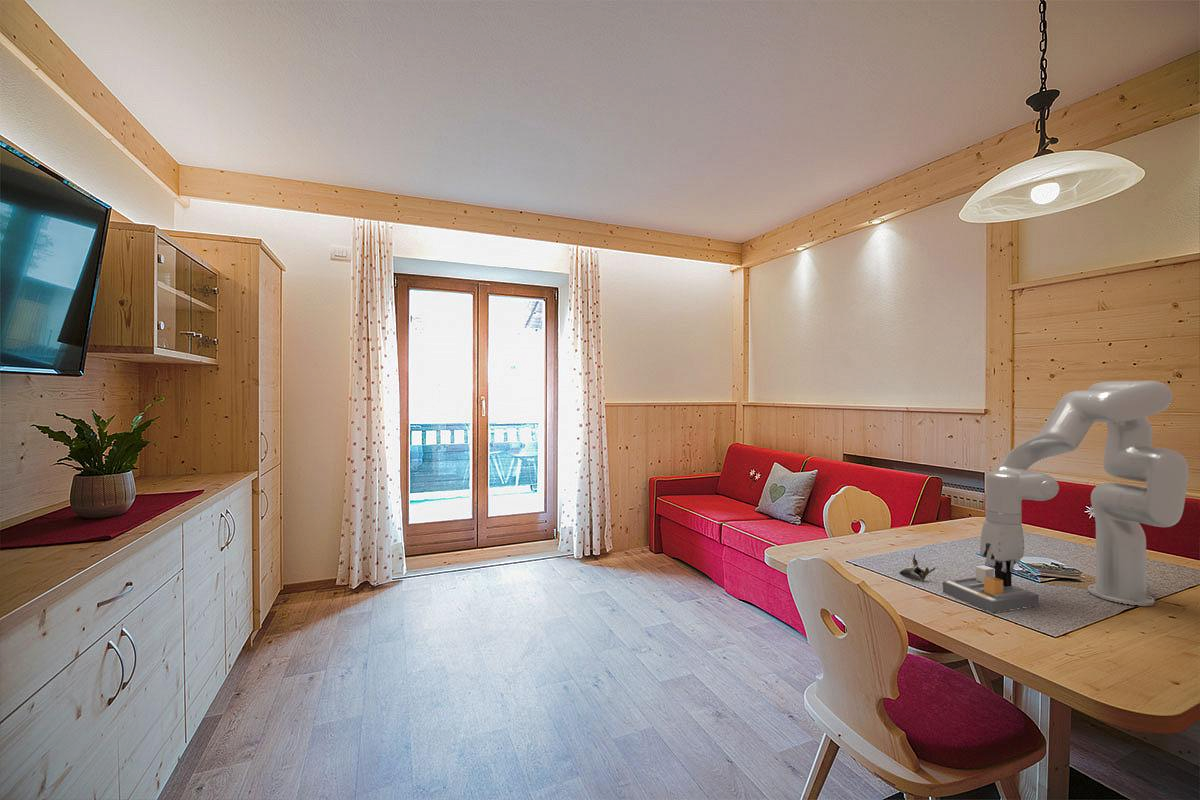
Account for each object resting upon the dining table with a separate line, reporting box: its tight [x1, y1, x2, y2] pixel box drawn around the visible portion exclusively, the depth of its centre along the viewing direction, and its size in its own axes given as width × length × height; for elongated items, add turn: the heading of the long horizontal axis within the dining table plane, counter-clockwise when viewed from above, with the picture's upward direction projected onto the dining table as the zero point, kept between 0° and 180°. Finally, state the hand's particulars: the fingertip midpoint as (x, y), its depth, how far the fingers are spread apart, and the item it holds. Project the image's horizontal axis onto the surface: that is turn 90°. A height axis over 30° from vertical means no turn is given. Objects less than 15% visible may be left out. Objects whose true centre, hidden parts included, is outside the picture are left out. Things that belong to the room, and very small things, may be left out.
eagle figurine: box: [899, 553, 936, 583], centre depth 152 cm, size 8×7×9 cm
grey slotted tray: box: [942, 576, 1040, 613], centre depth 136 cm, size 16×14×4 cm
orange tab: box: [984, 576, 1003, 596], centre depth 131 cm, size 3×3×4 cm
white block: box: [975, 564, 995, 583], centre depth 140 cm, size 3×3×4 cm
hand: (1003, 584), depth 132 cm, fingers closed
